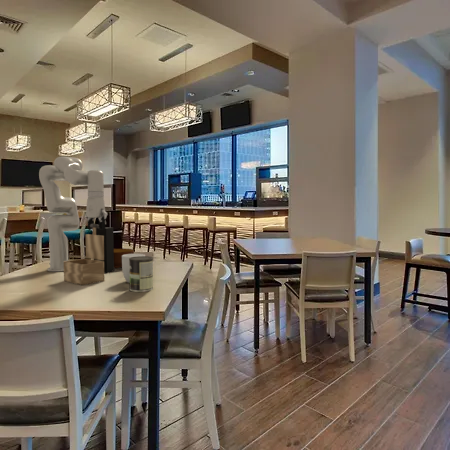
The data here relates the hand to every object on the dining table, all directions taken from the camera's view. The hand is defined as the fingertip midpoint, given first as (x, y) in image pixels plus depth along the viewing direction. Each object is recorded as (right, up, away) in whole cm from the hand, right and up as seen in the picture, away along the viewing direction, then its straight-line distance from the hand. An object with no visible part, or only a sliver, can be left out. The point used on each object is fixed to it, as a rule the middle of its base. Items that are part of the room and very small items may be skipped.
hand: (96, 229), depth 180 cm
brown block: (+1, -23, +36) cm, 42 cm away
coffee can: (+28, -27, -21) cm, 44 cm away
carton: (-4, -25, -4) cm, 26 cm away
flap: (-1, -6, -1) cm, 6 cm away
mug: (+21, -26, -5) cm, 34 cm away
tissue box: (-3, -24, +19) cm, 31 cm away
